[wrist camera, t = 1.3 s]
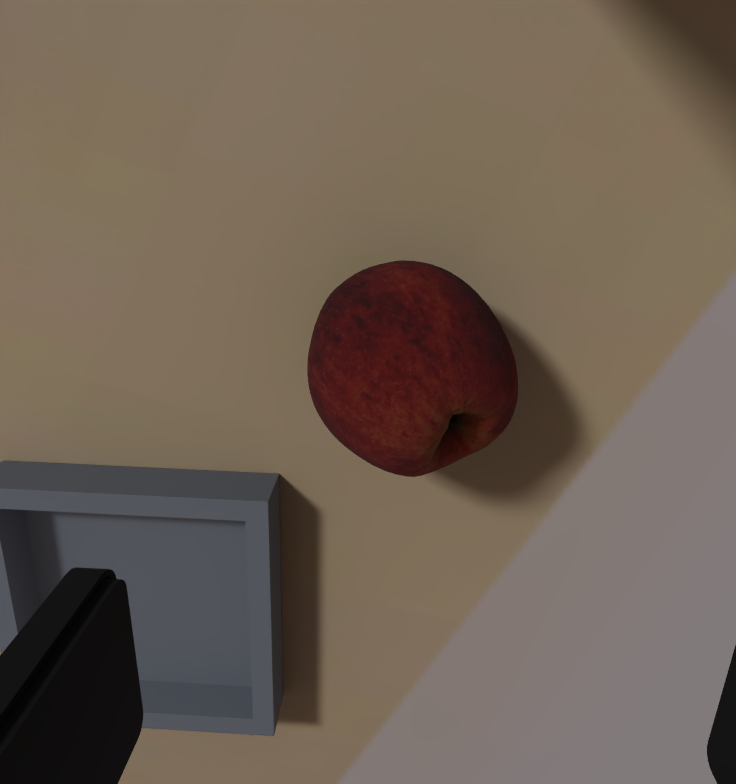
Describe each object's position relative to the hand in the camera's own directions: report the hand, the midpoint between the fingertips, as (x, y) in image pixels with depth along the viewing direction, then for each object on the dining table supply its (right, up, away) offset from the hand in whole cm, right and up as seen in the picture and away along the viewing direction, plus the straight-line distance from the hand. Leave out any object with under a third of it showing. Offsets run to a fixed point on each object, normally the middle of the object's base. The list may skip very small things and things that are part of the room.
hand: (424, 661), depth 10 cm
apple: (+1, +6, +17) cm, 19 cm away
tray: (-12, -5, +22) cm, 25 cm away
